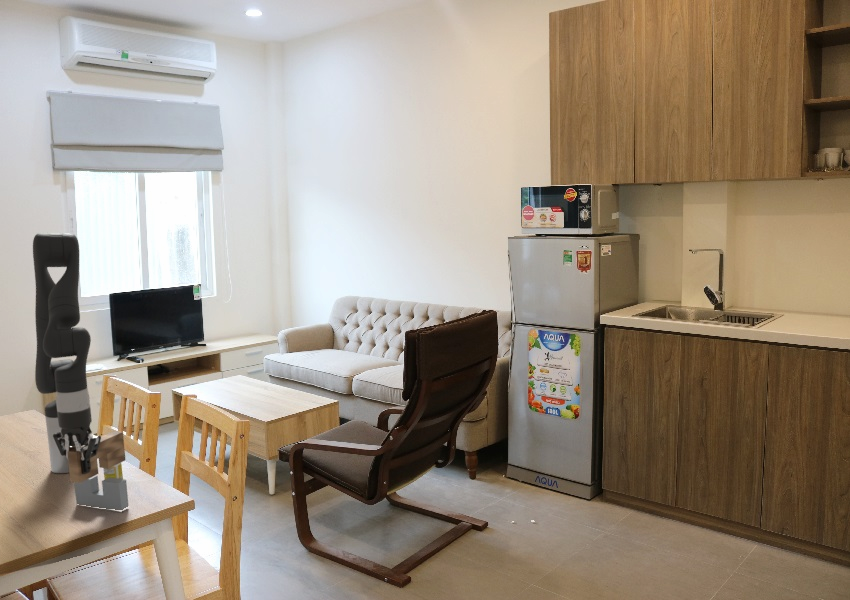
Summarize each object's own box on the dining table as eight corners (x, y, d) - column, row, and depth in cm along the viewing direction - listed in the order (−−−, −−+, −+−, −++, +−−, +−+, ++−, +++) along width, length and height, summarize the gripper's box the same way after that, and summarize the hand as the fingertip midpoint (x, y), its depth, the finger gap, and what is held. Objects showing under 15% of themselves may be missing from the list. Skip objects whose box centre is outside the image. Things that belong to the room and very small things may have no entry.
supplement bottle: (118, 479, 209) (115, 451, 208) (126, 482, 206) (123, 454, 205) (101, 484, 205) (99, 456, 204) (110, 488, 202) (107, 460, 201)
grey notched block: (76, 505, 192) (73, 476, 190) (83, 501, 194) (81, 473, 193) (121, 512, 187) (119, 483, 185) (128, 508, 189) (126, 479, 188)
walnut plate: (116, 459, 197) (114, 430, 195) (125, 460, 196) (122, 431, 194) (70, 481, 182) (67, 451, 181) (79, 483, 181) (76, 452, 180)
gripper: (107, 404, 181) (113, 469, 184) (63, 400, 186) (70, 464, 189) (84, 413, 174) (90, 481, 177) (39, 408, 179) (47, 474, 182)
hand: (80, 471), depth 183 cm, fingers closed on walnut plate, 3 cm apart
